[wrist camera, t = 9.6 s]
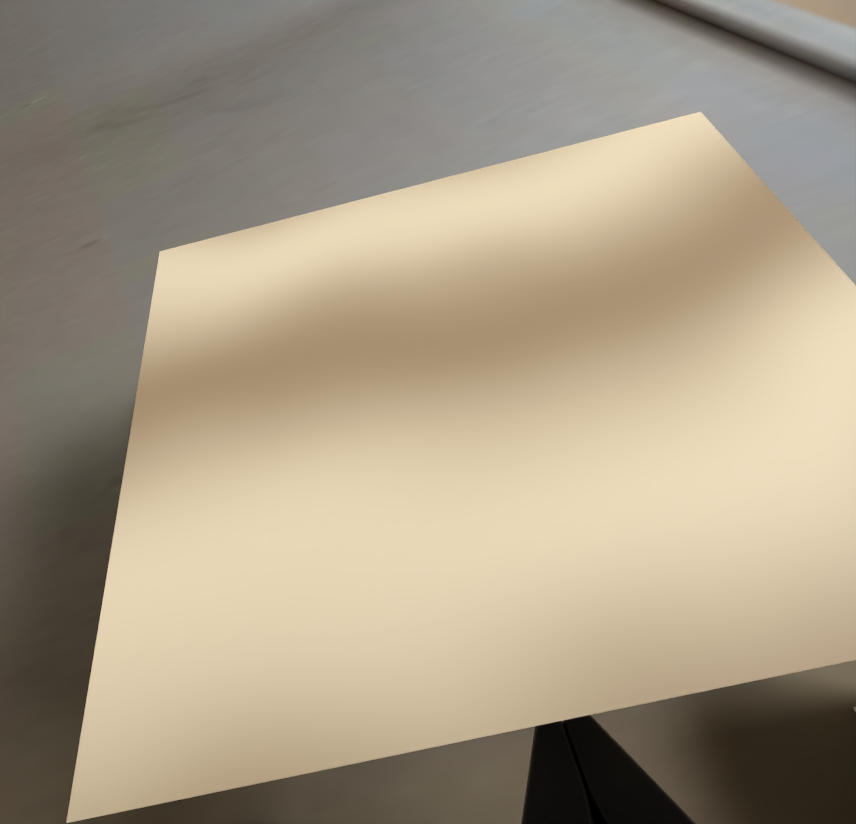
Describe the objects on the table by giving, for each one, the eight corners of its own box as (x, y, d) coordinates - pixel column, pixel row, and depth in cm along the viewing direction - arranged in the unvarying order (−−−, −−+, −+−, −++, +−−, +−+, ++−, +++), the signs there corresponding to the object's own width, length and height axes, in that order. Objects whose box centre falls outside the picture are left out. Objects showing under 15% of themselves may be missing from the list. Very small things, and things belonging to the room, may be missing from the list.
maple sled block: (773, 666, 13) (1137, 600, 5) (324, 759, 13) (65, 823, 6) (625, 363, 18) (700, 111, 11) (307, 438, 19) (159, 251, 11)
